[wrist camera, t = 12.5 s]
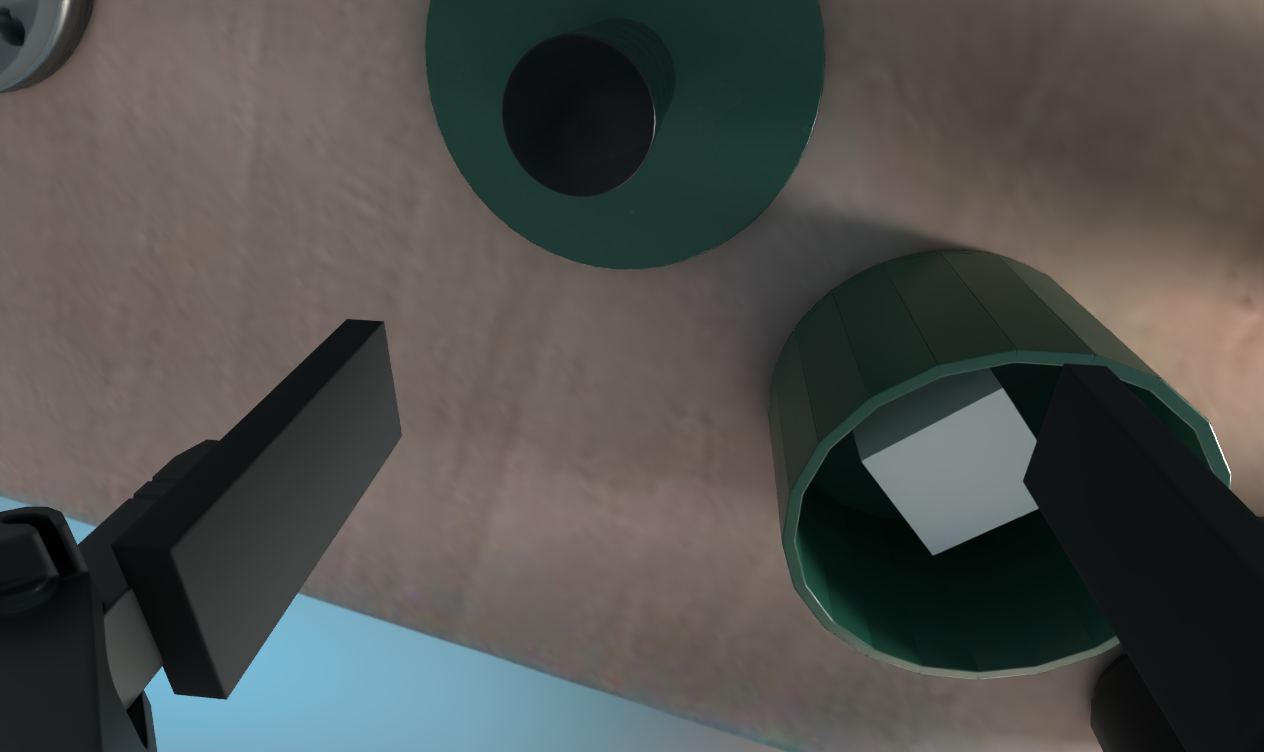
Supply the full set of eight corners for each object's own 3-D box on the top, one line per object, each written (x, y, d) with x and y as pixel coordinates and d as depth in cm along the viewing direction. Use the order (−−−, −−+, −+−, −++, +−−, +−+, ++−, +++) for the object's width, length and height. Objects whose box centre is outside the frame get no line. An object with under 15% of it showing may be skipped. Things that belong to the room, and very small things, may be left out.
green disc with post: (454, 251, 34) (353, 351, 25) (413, -162, 27) (246, -239, 17) (794, 270, 33) (822, 384, 24) (852, -159, 25) (926, -242, 16)
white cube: (903, 474, 37) (932, 556, 32) (840, 389, 35) (860, 461, 30) (1019, 416, 35) (1072, 494, 29) (958, 322, 33) (1003, 387, 28)
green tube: (755, 508, 40) (764, 658, 31) (789, 240, 32) (813, 335, 24) (1044, 533, 38) (1139, 697, 29) (1146, 259, 31) (1312, 368, 22)
